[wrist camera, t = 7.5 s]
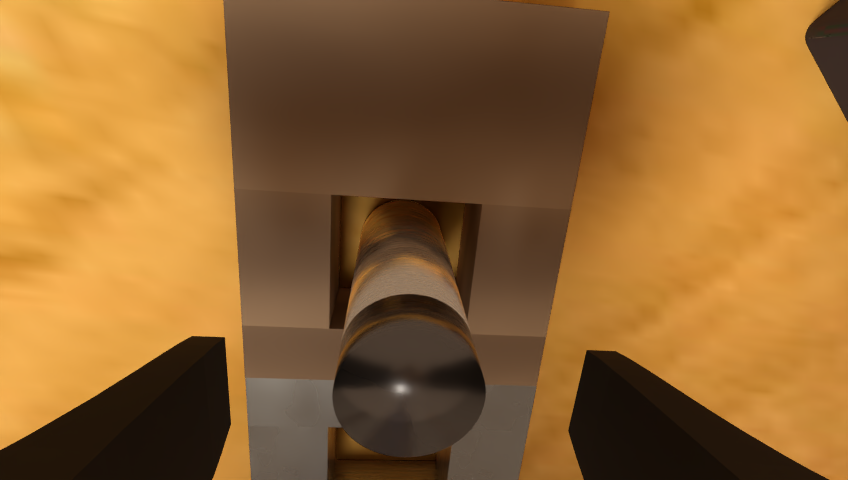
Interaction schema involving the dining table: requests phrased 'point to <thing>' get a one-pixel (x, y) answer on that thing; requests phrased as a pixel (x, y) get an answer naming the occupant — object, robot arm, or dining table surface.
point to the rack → (404, 159)
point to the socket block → (324, 476)
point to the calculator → (832, 50)
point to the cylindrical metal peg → (406, 341)
